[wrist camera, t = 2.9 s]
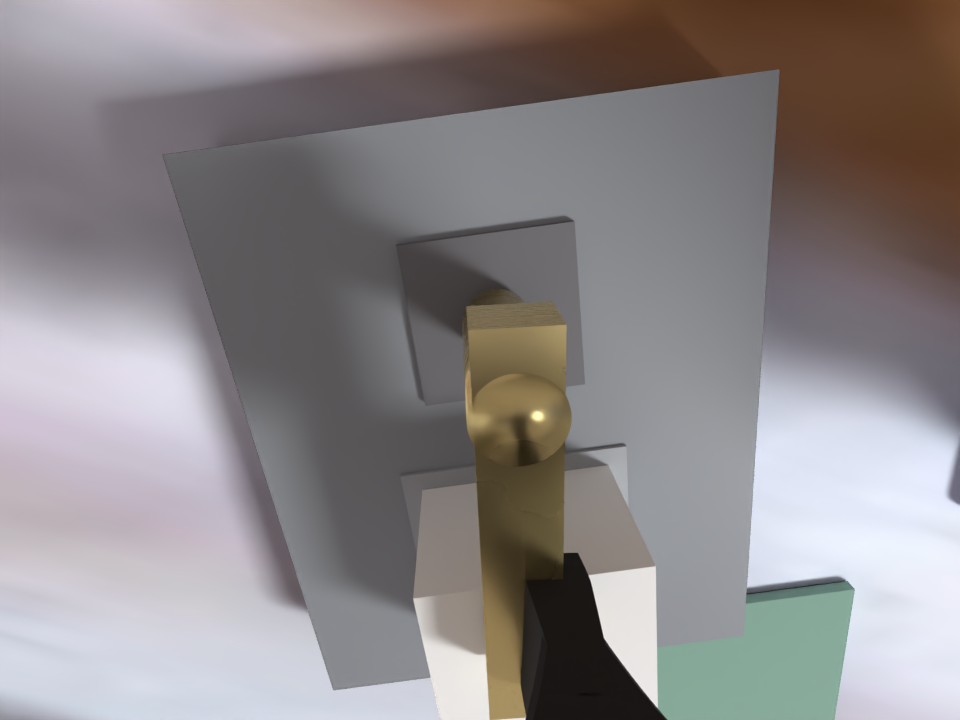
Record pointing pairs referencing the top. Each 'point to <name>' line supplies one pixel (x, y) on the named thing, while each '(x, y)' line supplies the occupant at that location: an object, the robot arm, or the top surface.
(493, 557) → the brass lever handle
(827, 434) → the top surface
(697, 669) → the mat
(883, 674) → the top surface
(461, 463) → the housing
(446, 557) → the white square block
